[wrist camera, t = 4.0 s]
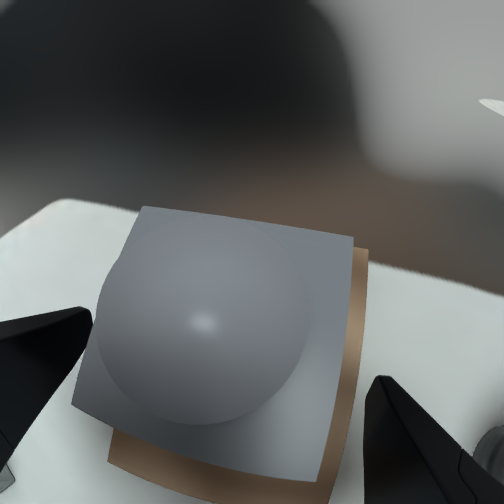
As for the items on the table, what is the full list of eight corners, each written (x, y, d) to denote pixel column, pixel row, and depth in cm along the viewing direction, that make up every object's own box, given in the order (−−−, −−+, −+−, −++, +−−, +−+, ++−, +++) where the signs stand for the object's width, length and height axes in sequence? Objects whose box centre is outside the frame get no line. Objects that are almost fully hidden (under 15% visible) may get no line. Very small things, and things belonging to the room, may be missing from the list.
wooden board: (316, 506, 11) (338, 550, 6) (122, 456, 13) (65, 471, 7) (359, 264, 18) (390, 210, 13) (188, 235, 20) (162, 178, 15)
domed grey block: (288, 433, 12) (329, 505, 3) (172, 405, 13) (32, 399, 4) (310, 321, 14) (369, 201, 6) (201, 301, 15) (123, 171, 7)
